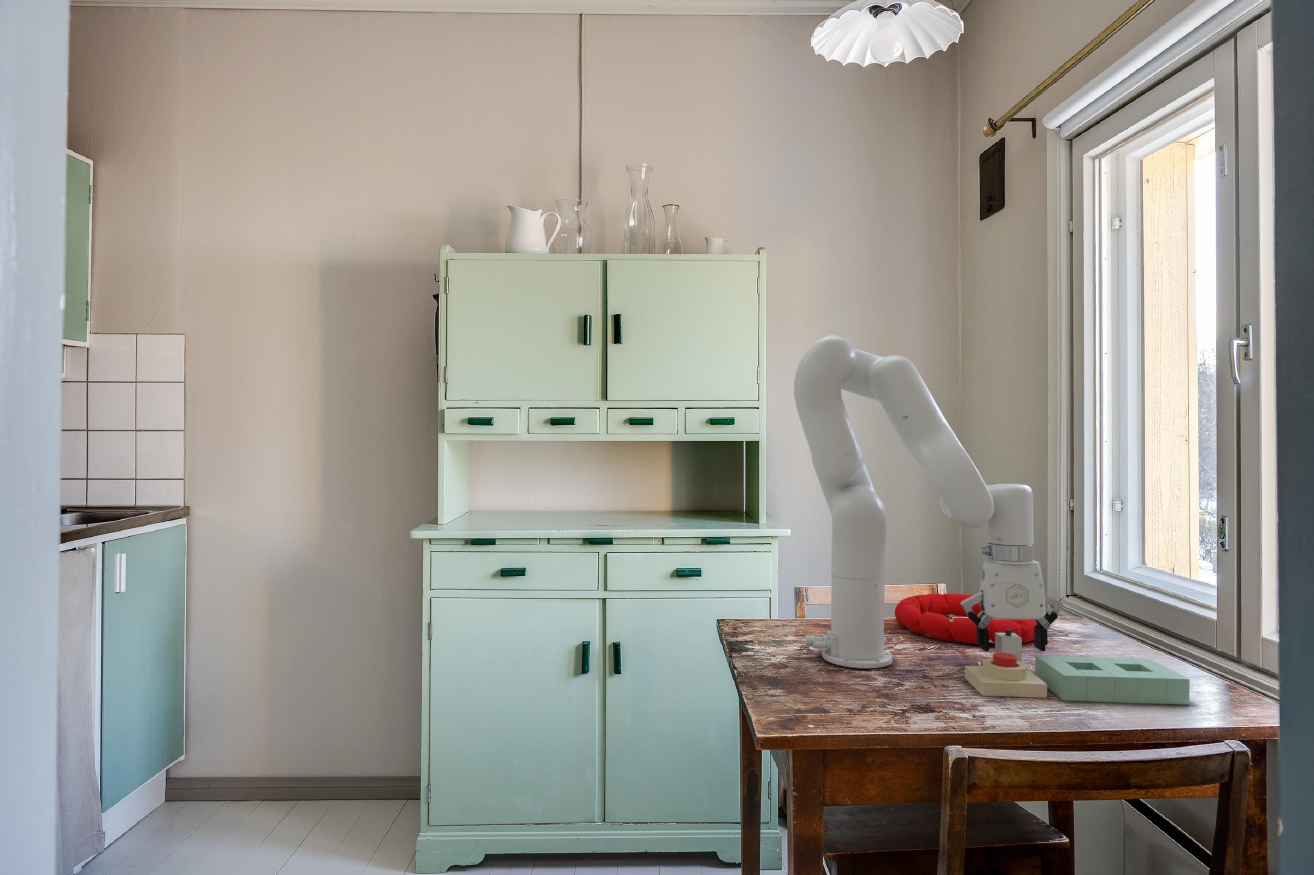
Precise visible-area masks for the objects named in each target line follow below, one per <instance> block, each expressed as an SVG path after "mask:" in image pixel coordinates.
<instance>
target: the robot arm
mask: <svg viewBox="0 0 1314 875" xmlns="http://www.w3.org/2000/svg"><path fill="white" fill-rule="evenodd" d="M842 390H843V391H846V392H848V393H852V394H855V395H857V396H861V397H864V398H868V399H871V400H875V401H878V402H879V403H880V405H881V407H882V408H883V410H884V412H885V413H886V415H887V417H888V419H889V420H890V422H891V424H892V426H893V429H895V431H896V434H897V435H898V437H899V439H900V441H901V442H902V444H903V446H904V447H905V449H906V450H907V451H908V453H909V454H910V455H911V456H912V457H913V459H915V460H916V461H917V463H918V464H920V466H921V467H922V468H923V469H924V470H925V472H926V474H927V475H928V477H929V478H930V480H931V481H932V483H933V485H934V487H935V488H936V490H937V492H938V494H939V495H940V497H939V506H940V509H941V510H940V511H941V512H942V513H943V514H944V516H945V517H946V518H947V519H949V520H950V521H953V522H954V523H955V524H957V525H959V526H961V527H963V528H967V529H977V528H981V527H984V526H985V525H986V526H987V527H986V529H987V530H986V532H987V542H986V544H985V546H980V547H979V554H980V555H984V556H986V558H987V559H984V561H983V564H982V570H981V575H980V582H979V583H980V584H979V592H977V593H975V594H973V595H972V596H971V597H969V598H967V599H965V600H963V601H962V602H961V606H962V608H963V610H964V612H965V613H966V616H967V617H966V616H965V617H966V618H969V619H970V620H971V621H972V622H973V623H974V624H975V625H976V630H977V644H976V645H978V646H979V648H980V650H983V652H989V651H990V640H989V630H988V629H987V628H986V626H987V624H988V623H989V622H990V621H991V620H992V619H1034V620H1035V621H1036V622H1037V625H1035V626H1034V640H1033V646H1034V648H1035V649H1037V650H1039V651H1041V652H1046V646H1048V644H1049V643H1048V642H1049V641H1048V629H1050V628H1051V625H1052V624H1053V623H1054V622H1055V621H1056V620H1058V618H1059V616H1058V615H1059V614H1060V613H1061V611H1062V609H1063V606H1064V604H1063V603H1062V602H1061V601H1059V600H1057V599H1056V598H1053V597H1052V596H1049V595H1047V594H1045V586H1044V580H1043V573H1042V568H1041V564H1040V562H1039V561H1037V560H1035V541H1034V540H1035V538H1034V537H1035V536H1034V535H1035V534H1034V493H1033V490H1032V488H1031V487H1030V486H1029V485H1027V484H1022V483H1021V484H1020V483H995V484H986V482H985V480H984V478H983V477H982V475H981V473H980V472H979V470H978V468H977V467H976V465H975V463H974V462H973V460H972V458H971V457H970V455H969V453H968V452H967V451H966V449H965V448H964V447H963V445H962V444H961V442H960V440H959V439H958V437H957V435H956V433H955V432H954V430H953V429H952V428H951V426H950V425H949V423H948V421H947V419H946V418H945V416H944V415H943V413H942V411H941V408H940V407H939V405H938V404H937V402H936V400H935V399H934V397H933V395H932V393H931V392H930V390H929V387H928V386H927V385H926V382H925V381H924V379H923V378H922V375H921V374H920V372H919V370H918V369H917V367H916V366H915V364H914V363H913V362H912V361H911V359H909V358H907V357H906V356H903V355H899V354H898V355H897V354H894V355H888V356H881V355H878V354H874V353H870V352H867V351H865V350H861V349H858V348H855V346H854V345H853V343H852V342H851V341H850V340H849V339H848V338H846V337H844V336H843V335H842V336H841V335H838V334H830V335H825V336H823V337H821V338H819V339H818V340H816V342H814V343H813V344H812V345H811V346H810V347H809V349H808V350H807V351H806V352H805V354H804V355H803V357H802V358H801V360H800V361H799V363H798V365H797V367H796V371H795V375H794V381H793V397H794V404H795V407H796V411H797V414H798V417H799V420H800V424H801V426H802V429H803V433H804V436H805V439H806V442H807V445H808V447H809V450H810V453H811V461H812V466H813V468H814V471H815V473H816V474H815V475H816V477H817V479H818V482H819V485H820V487H821V490H822V494H823V496H824V499H825V501H826V504H827V506H828V509H829V512H830V515H831V563H830V564H831V566H830V568H831V569H830V572H831V573H830V574H831V584H830V586H831V587H830V588H831V590H830V591H831V592H830V594H831V595H830V596H831V597H830V605H831V606H830V610H831V611H830V629H827V632H826V633H827V634H825V633H823V634H822V635H820V636H816V635H807V634H806V635H805V637H804V645H805V647H813V649H822V651H821V657H822V659H823V660H825V662H828V663H830V664H833V665H836V666H840V667H845V668H852V669H866V670H867V669H878V668H879V669H880V668H884V667H885V668H886V667H888V666H890V665H891V664H893V660H894V659H893V658H894V657H893V654H892V653H891V652H890V651H888V650H885V588H886V586H885V584H886V583H885V581H886V580H885V579H886V578H885V572H886V571H885V570H886V569H885V567H886V566H885V565H886V564H885V562H886V542H887V541H886V540H887V539H886V538H887V530H888V529H887V526H888V525H887V524H888V519H887V518H888V517H887V511H886V507H885V504H884V502H883V501H882V499H881V498H880V497H879V495H877V492H876V490H875V487H874V484H873V483H872V479H871V477H870V474H869V472H868V471H869V470H868V468H867V466H866V462H865V457H864V456H865V455H864V451H863V449H862V446H861V444H860V442H859V441H858V439H857V436H856V434H855V431H854V429H853V426H852V423H851V421H850V418H849V416H848V412H847V409H846V406H845V403H844V400H843V397H842ZM979 602H980V610H981V612H980V614H979V615H978V616H977V615H976V614H974V612H973V610H972V606H973V605H975V604H977V603H979ZM1046 604H1048V605H1049V606H1050V608H1049V610H1048V611H1047V612H1046V610H1047V608H1046V606H1047V605H1046Z"/></svg>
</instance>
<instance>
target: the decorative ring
mask: <svg viewBox="0 0 1314 875" xmlns="http://www.w3.org/2000/svg"><path fill="white" fill-rule="evenodd" d="M971 596H973V595H972V594H968V593H967V594H964V593H927V594H916V595H912V596H908V597H905V598H903V599H901V600H900V601H898V603H897V604H896V605H895V608H894V617H895V619H896V621H897V623H898V624H900V625H901V626H903V627H905V628H906V629H907V630H909V631H910V632H912V633H915V634H918V635H928V636H930V637H931V638H934V639H937V640H939V641H944V642H945V641H947V642H949V641H956V642H959V643H962V644H968V645H978V644H977V630H976V625H975V624H974V623H973V622H972V621H971V620H970V619H969V618H968V617H967V616H966V613H965V612H964V610H963V608H962V606H961V602H962V601H963V600H965V599H967V598H969V597H971ZM972 610H973V612H974V614H976V615H977V616H978V615H979V614H980V612H981V610H980V602H979V603H977V604H975V605H973V606H972ZM950 615H952V616H955V618H953V620H952V621H951V620H950V619H949V617H947V616H950ZM1035 625H1037V622H1036V621H1035V620H1034V619H992V620H991V621H990V622H989V623H988V624H987V626H986V628H987V629H988V630H989V641H992V643H994V644H995V633H1005V629H1010V630H1012V632H1011V633H1015V634H1016V635H1018V636H1019V637H1021V638H1022V644H1026V643H1030V642H1032V641H1033V642H1034V626H1035Z"/></svg>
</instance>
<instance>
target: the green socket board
mask: <svg viewBox="0 0 1314 875" xmlns="http://www.w3.org/2000/svg"><path fill="white" fill-rule="evenodd" d="M1034 658H1035V659H1034V660H1035V661H1034V662H1035V664H1034V665H1035V666H1034V675H1036V676H1037V677H1038V678H1040V679H1041V680H1042V681H1044V682H1045V683H1046V684H1047V690H1049V691H1051V692H1052V693H1054V695H1055V696H1057V697H1058V698H1060V699H1061V700H1063V701H1070V702H1096V703H1097V702H1098V703H1100V702H1102V703H1129V704H1152V705H1156V704H1157V705H1181V706H1183V705H1184V706H1185V705H1187V706H1189V705H1190V681H1191V680H1190V678H1188V677H1186V676H1184V675H1182V674H1180V673H1178V672H1176V671H1174V670H1173V669H1171V668H1169V667H1167V666H1164V665H1163V664H1161V663H1159V662H1157V661H1155V660H1153V659H1151V658H1136V657H1135V658H1134V657H1133V658H1131V657H1130V658H1129V657H1102V656H1101V657H1099V656H1098V657H1097V656H1094V657H1093V656H1068V655H1067V656H1065V655H1064V656H1062V655H1035V657H1034Z"/></svg>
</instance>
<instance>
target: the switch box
mask: <svg viewBox="0 0 1314 875" xmlns="http://www.w3.org/2000/svg"><path fill="white" fill-rule="evenodd" d="M964 679H966V681H967V682H968V684H970V685H971V686H972V687H973V688H974V689H975V690H976V691H977V692H978V693H980V695H981V696H985V697H986V696H987V697H1012V698H1013V697H1014V698H1044V699H1046V698H1048V688H1047V684H1046V683H1045V682H1044V681H1042V680H1041V679H1040V678H1038V677H1037V676H1036V675H1035V673H1033V672H1032V671H1030V670H1029V669H1028V665H1027V664H1026V663H1024V662H1022V661H1021V662H1019V661H1017V667H1001V666H997V665H994V664H993V657H991V658H985V659H984V660H983V661H982V665H964Z"/></svg>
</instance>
